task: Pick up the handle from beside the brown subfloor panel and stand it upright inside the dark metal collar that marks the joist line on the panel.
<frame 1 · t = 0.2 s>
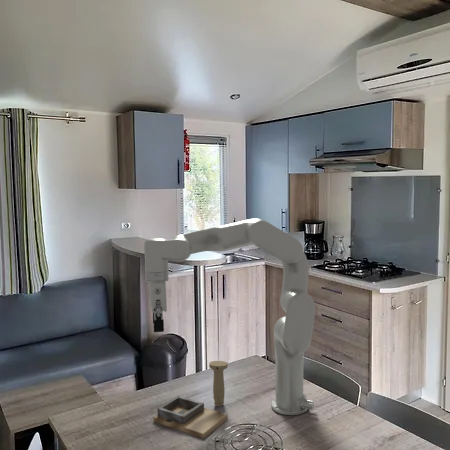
hand: (158, 327, 155), 31 cm above the table, tool pointing down, fingers open, 9 cm apart
handle: (219, 405, 165), on the table
subfloor panel: (190, 420, 155), on the table
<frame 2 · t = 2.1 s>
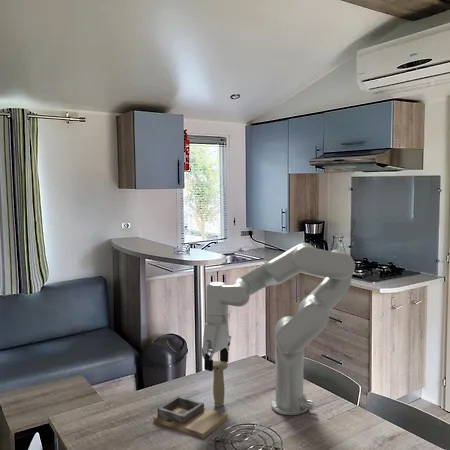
hand: (216, 365, 164), 14 cm above the table, tool pointing down, fingers open, 9 cm apart
nothing on the table moved.
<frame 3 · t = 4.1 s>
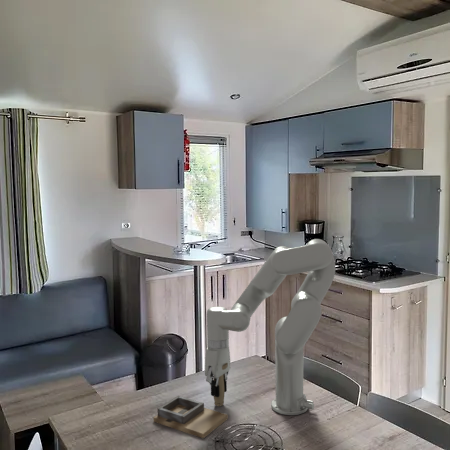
hand: (218, 393, 165), 4 cm above the table, tool pointing down, fingers closed on handle, 3 cm apart
handle: (219, 405, 165), on the table, touching gripper
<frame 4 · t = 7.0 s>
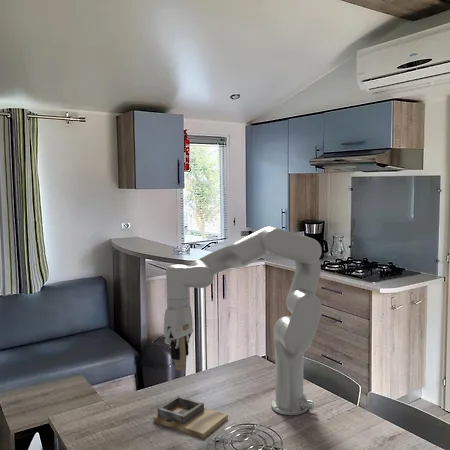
hand: (179, 356, 155), 21 cm above the table, tool pointing down, fingers closed on handle, 3 cm apart
handle: (180, 369, 156), point 16 cm above the table, touching gripper
when the fingers open (8 cm above the table, at t = 10.1 s): handle drops 2 cm, resting on subfloor panel.
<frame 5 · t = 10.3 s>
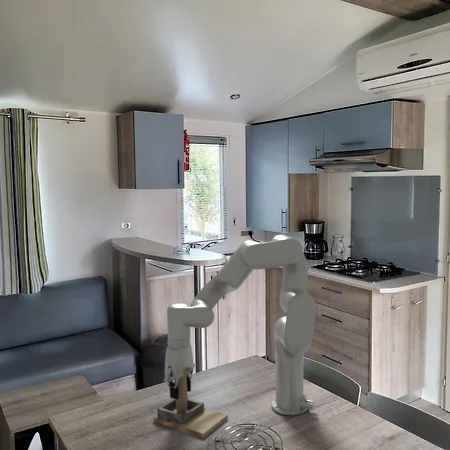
hand: (180, 394, 156), 8 cm above the table, tool pointing down, fingers open, 6 cm apart
handle: (181, 412, 157), point 1 cm above the table, touching subfloor panel
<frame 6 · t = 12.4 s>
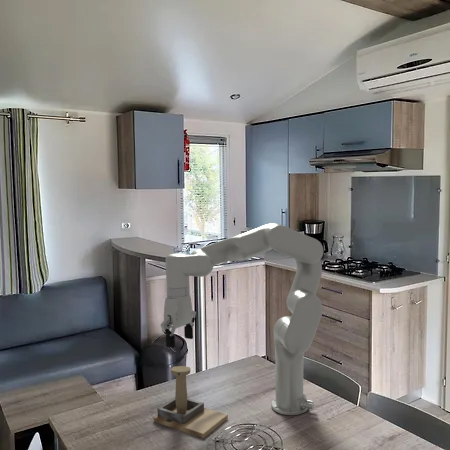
hand: (179, 342, 155), 26 cm above the table, tool pointing down, fingers open, 9 cm apart
nothing on the table moved.
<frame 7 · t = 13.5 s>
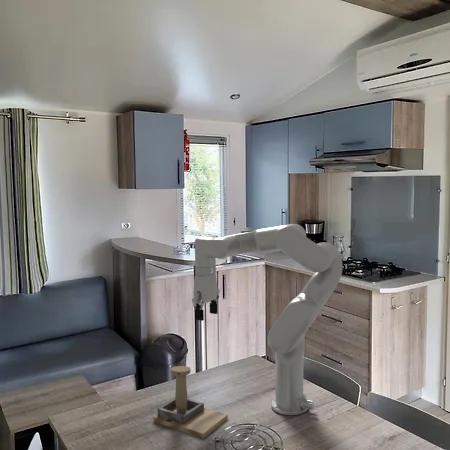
hand: (206, 316, 173), 29 cm above the table, tool pointing down, fingers open, 9 cm apart
nothing on the table moved.
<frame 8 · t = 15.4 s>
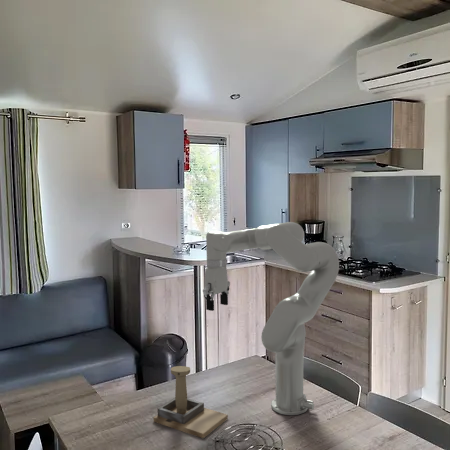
hand: (217, 307, 181), 30 cm above the table, tool pointing down, fingers open, 9 cm apart
nothing on the table moved.
at the end: handle 0.2 cm from the target spot on the subfloor panel, point 1.4 cm above the subfloor panel's base; handle tilted 0°; the gripper is holding nothing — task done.
